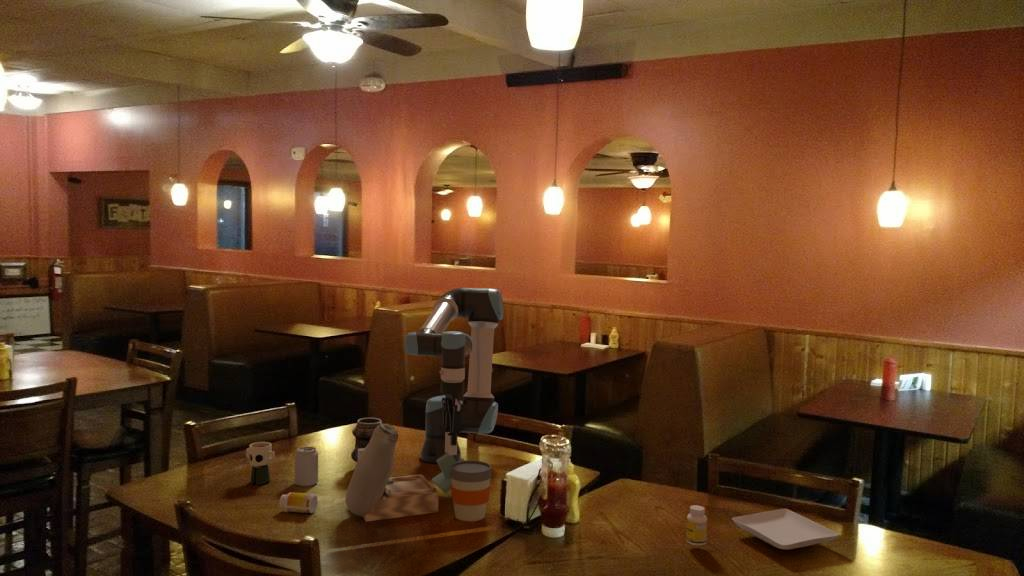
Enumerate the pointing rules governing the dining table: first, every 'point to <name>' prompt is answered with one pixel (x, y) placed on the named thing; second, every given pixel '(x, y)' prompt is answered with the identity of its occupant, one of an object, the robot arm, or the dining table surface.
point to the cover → (445, 472)
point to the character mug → (260, 461)
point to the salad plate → (785, 529)
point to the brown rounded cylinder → (372, 471)
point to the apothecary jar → (363, 434)
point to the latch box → (405, 499)
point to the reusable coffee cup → (470, 489)
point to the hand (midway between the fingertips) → (451, 453)
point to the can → (306, 466)
